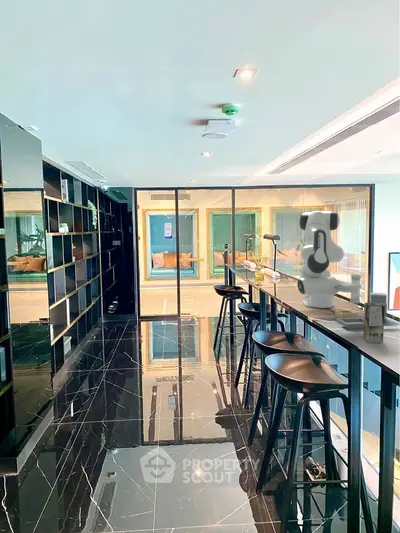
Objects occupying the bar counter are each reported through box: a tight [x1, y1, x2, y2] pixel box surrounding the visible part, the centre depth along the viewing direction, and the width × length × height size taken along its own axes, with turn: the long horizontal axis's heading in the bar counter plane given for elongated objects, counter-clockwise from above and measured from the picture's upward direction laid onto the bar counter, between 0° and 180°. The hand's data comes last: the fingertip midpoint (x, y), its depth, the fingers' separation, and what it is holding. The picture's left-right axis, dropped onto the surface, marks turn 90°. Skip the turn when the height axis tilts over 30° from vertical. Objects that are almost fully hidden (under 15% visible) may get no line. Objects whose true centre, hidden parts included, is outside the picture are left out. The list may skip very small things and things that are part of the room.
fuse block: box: [330, 309, 359, 319], centre depth 214 cm, size 12×12×4 cm
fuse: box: [349, 274, 362, 305], centre depth 197 cm, size 4×4×14 cm
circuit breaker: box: [369, 292, 388, 322], centre depth 206 cm, size 8×14×15 cm, turn 158°
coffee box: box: [363, 302, 385, 344], centre depth 174 cm, size 9×6×16 cm
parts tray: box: [335, 317, 364, 331], centre depth 199 cm, size 12×14×3 cm
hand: (357, 285), depth 197 cm, fingers closed on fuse, 4 cm apart
